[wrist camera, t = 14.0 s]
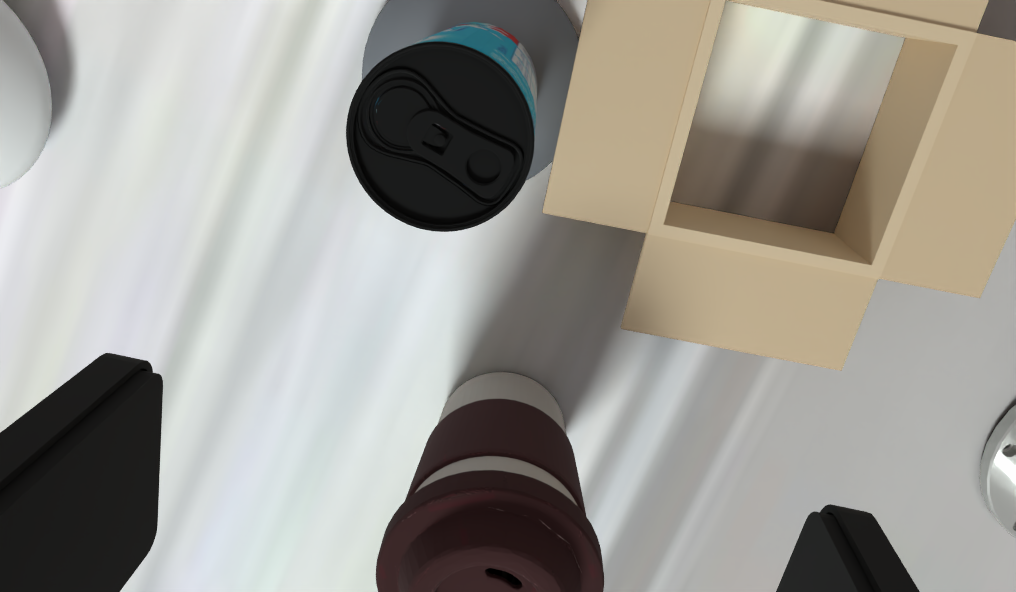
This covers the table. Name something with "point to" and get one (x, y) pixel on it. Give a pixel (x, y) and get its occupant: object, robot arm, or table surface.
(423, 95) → the beverage can
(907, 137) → the carton
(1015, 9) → the table surface
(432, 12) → the coaster
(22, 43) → the flower in vase
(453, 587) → the coffee cup
